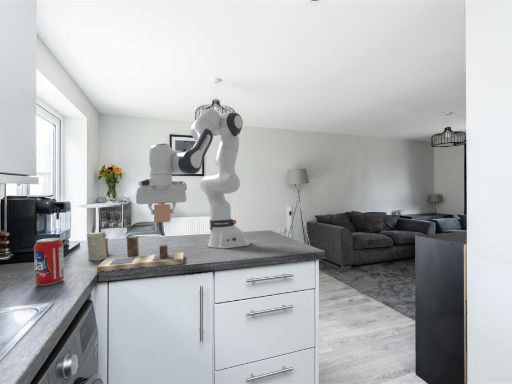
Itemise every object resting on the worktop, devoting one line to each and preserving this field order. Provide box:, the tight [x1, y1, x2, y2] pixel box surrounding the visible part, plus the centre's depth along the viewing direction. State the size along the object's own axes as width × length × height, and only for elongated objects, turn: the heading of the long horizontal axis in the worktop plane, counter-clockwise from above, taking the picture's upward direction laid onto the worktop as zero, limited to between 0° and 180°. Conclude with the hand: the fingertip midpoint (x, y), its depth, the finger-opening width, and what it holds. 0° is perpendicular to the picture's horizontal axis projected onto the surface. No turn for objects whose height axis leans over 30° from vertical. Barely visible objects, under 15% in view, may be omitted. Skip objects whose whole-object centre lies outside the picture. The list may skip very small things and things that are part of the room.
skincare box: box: [86, 231, 107, 262], centre depth 121 cm, size 6×4×12 cm
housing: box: [153, 203, 172, 223], centre depth 114 cm, size 6×8×7 cm
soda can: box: [33, 237, 65, 287], centre depth 91 cm, size 8×8×15 cm
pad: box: [109, 257, 135, 265], centre depth 110 cm, size 8×9×1 cm
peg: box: [126, 235, 140, 257], centre depth 121 cm, size 4×4×10 cm
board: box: [96, 244, 184, 273], centre depth 112 cm, size 32×12×7 cm, turn 105°
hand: (162, 213), depth 114 cm, fingers closed on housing, 6 cm apart
